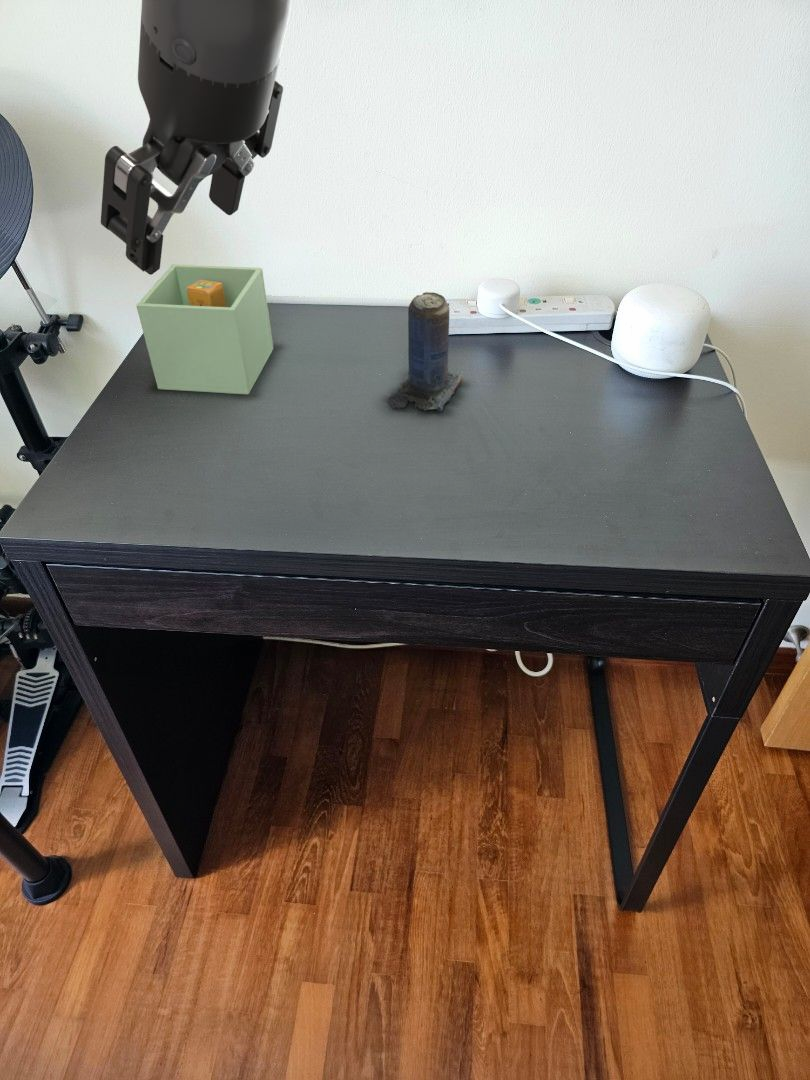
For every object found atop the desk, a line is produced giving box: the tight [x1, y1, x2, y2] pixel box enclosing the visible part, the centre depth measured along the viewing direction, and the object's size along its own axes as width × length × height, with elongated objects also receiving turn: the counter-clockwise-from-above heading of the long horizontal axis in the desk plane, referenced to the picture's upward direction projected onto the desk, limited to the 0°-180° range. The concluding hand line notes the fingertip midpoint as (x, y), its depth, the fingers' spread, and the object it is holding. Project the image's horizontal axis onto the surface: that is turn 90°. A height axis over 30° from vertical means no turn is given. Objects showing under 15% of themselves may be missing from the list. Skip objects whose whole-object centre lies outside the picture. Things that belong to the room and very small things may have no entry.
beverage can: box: [387, 291, 463, 413], centre depth 88 cm, size 9×8×12 cm
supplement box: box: [187, 280, 226, 307], centre depth 94 cm, size 3×3×10 cm
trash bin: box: [135, 263, 275, 395], centre depth 94 cm, size 11×11×11 cm
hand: (184, 234), depth 57 cm, fingers open, 8 cm apart
